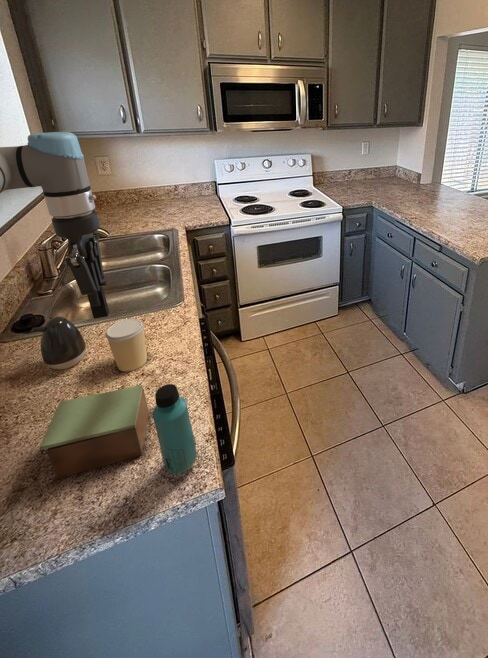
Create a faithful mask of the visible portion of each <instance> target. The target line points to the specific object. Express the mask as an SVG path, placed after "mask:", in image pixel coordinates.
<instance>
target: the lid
mask: <svg viewBox="0 0 488 658" xmlns="http://www.w3.org/2000/svg"><path fill="white" fill-rule="evenodd" d="M143 389H144V386H143V384H140V385H135V386H130V387H126V388H121V389H116V390H112V391H111V390H110V391H106V392H101V393H97V394H91V395H87V396H82V397H78V398H71V399H67V400H62V401H59V403H58V406H57V407H56V410H55V412H54V414H53V416H52V419H51V421H50V423H49V425H48V427H47V430H46V431H45V434H44V436H43V438H42V440H41V443H40V444H39V450H40V451H41V450H48V448H51V447H55V446H60V445H64V444H68V443H72V442H77V441H81V440H85V439H89V438H94V437H98V436H102V435H106V434H111V433H115V432H119V431H123V430H127V429H132V428H135V426H136V421H137V416H138V411H139V406H140V400H141V395H142V390H143Z"/></svg>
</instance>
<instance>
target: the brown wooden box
mask: <svg viewBox="0 0 488 658" xmlns="http://www.w3.org/2000/svg"><path fill="white" fill-rule="evenodd" d="M149 414H150V412H149V407H148V403H147V397H146V395H145V390H144V388H143V390H142V395H141V400H140V406H139V411H138V416H137V421H136V426H135V428H132V429H127V430H123V431H119V432H115V433H111V434H106V435H102V436H98V437H94V438H89V439H85V440H81V441H77V442H72V443H68V444H64V445H60V446H55V447H51V448H47V449H46V451H47V454H48V457H49V459H50V463H51V465H52V468H53V470H54V473H55V475H56V478H57V479H62V478H65V477H69V476H72V475H73V476H74V475H76V474H79V473H80V474H81V473H84V472H87V471H90V470H94V469H98V468H101V467H104V466H108V465H112V464H115V463H119V462H122V461H126V460H129V459H133V458H136V457H140V456H143V455H144V454H143V452H144V446H145V440H146V433H147V428H148V422H149V421H148V420H149V416H150V415H149Z"/></svg>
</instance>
